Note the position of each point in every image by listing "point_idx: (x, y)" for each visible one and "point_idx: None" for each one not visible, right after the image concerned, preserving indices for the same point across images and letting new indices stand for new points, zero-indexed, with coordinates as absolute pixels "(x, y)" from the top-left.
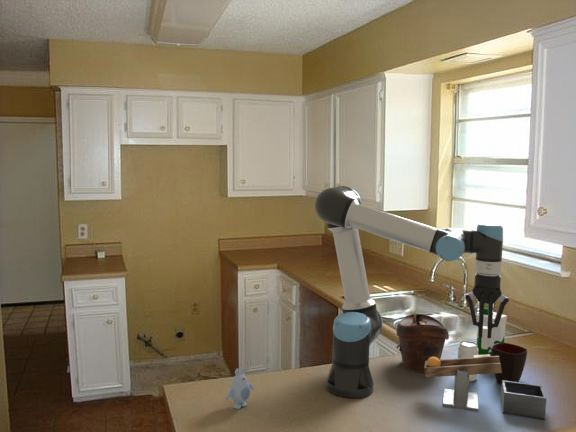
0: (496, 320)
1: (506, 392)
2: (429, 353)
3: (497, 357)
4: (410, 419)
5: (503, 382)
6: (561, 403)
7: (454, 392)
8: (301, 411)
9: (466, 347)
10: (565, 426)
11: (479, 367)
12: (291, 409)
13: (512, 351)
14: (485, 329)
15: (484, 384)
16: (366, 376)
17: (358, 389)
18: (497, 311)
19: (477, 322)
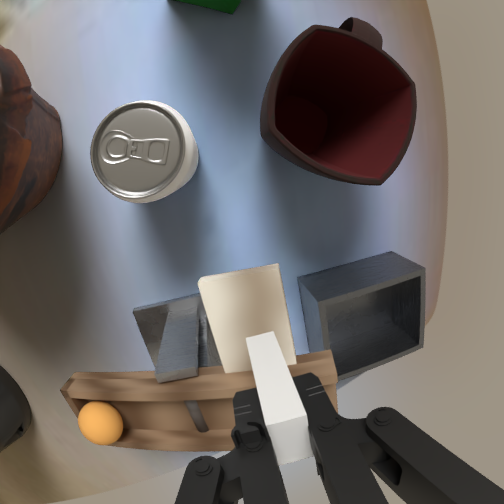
0: (396, 483)
1: None
2: (14, 219)
3: (330, 381)
4: (143, 458)
5: (323, 319)
6: (431, 202)
7: None
8: (21, 475)
9: (136, 196)
10: (425, 323)
11: None
12: (10, 473)
13: (340, 51)
14: (296, 457)
15: (231, 179)
16: (8, 432)
17: (21, 434)
18: (443, 501)
19: (239, 495)
